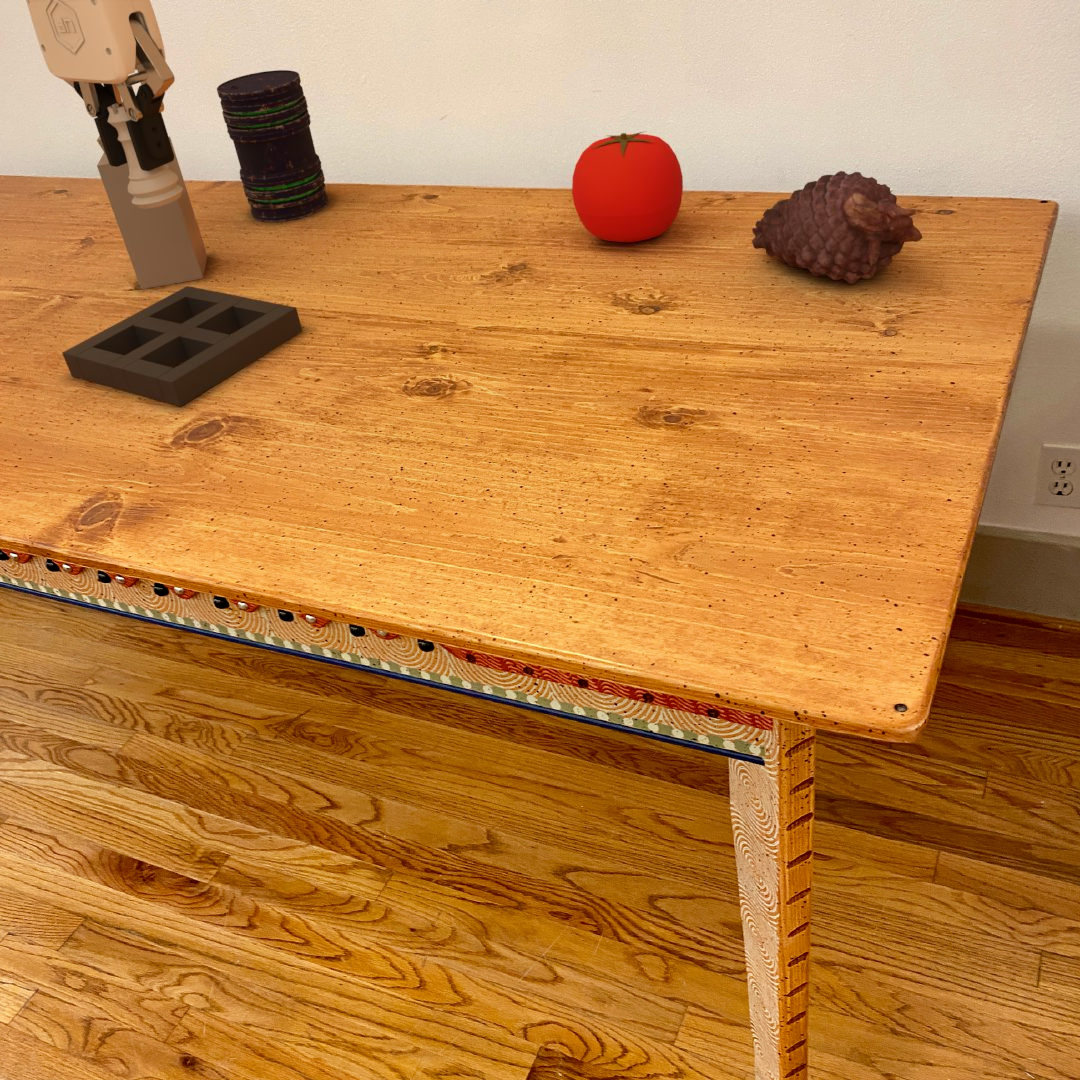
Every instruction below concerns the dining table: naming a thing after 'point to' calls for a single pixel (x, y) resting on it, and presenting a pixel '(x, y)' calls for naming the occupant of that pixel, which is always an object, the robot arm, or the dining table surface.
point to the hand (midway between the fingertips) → (142, 161)
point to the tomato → (627, 187)
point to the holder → (183, 344)
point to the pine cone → (837, 227)
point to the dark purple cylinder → (274, 145)
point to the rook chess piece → (143, 184)
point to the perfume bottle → (156, 230)
